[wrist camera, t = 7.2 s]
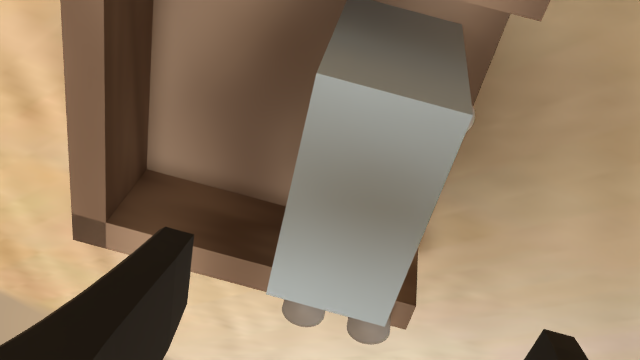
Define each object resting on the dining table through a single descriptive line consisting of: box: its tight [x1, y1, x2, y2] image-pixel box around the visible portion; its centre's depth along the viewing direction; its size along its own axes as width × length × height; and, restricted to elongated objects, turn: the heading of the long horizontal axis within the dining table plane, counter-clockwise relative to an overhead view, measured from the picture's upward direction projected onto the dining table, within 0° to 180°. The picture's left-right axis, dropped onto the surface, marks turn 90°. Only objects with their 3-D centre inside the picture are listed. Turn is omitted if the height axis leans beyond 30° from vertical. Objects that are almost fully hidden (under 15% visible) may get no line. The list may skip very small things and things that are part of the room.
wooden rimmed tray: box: [60, 0, 550, 344], centre depth 18 cm, size 12×12×5 cm
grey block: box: [266, 0, 475, 327], centre depth 17 cm, size 4×7×6 cm, turn 168°
